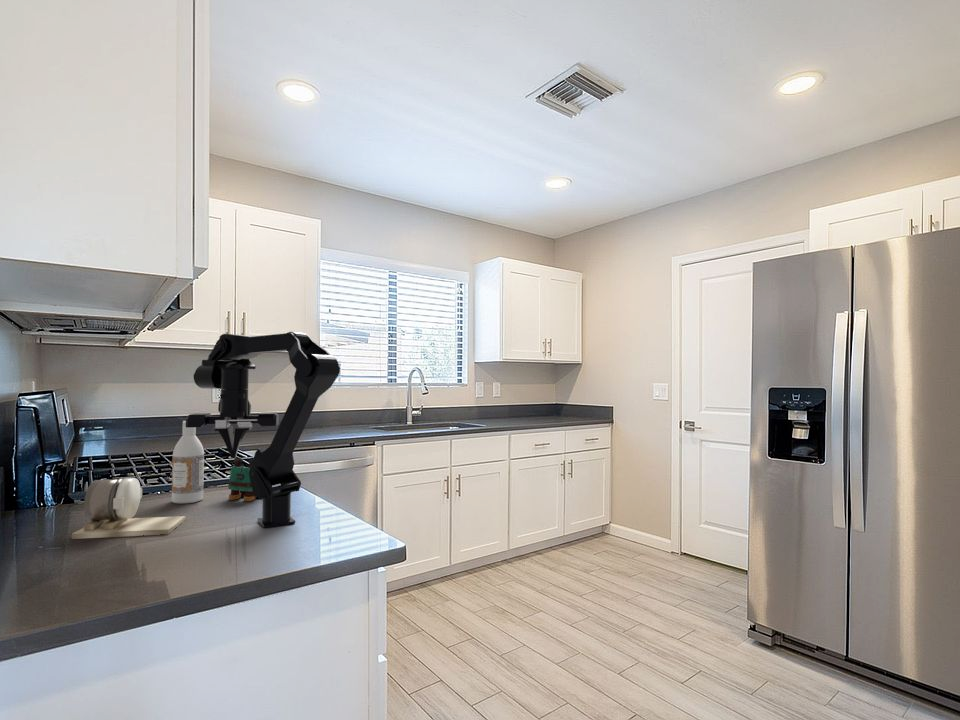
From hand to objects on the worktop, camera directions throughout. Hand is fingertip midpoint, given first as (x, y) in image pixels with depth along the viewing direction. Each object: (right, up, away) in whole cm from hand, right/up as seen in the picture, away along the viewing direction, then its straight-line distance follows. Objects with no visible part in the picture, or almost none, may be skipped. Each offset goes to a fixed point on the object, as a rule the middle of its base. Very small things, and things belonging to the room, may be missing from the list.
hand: (233, 457), depth 121 cm
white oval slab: (-16, -10, -12) cm, 22 cm away
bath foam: (-17, -13, +13) cm, 25 cm away
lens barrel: (-20, -10, -13) cm, 26 cm away
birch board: (-15, -13, -12) cm, 23 cm away
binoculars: (-4, -14, +17) cm, 22 cm away
